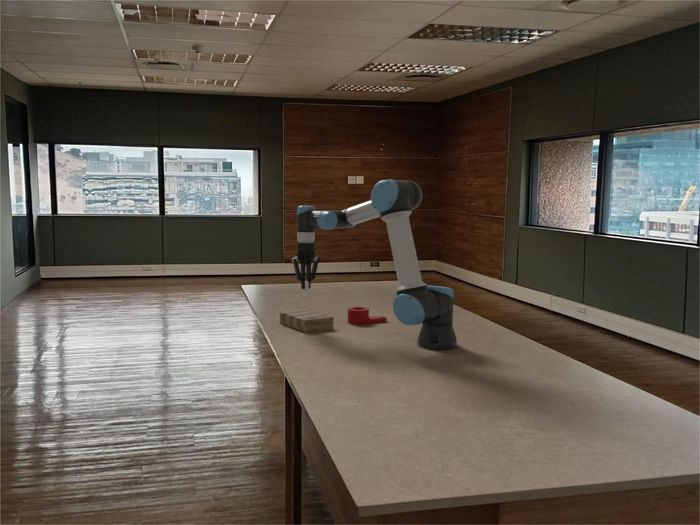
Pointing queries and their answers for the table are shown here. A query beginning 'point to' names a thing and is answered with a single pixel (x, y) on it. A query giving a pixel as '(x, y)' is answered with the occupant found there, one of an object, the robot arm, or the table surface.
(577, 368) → the table surface
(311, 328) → the walnut base brick
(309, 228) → the robot arm
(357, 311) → the lever
